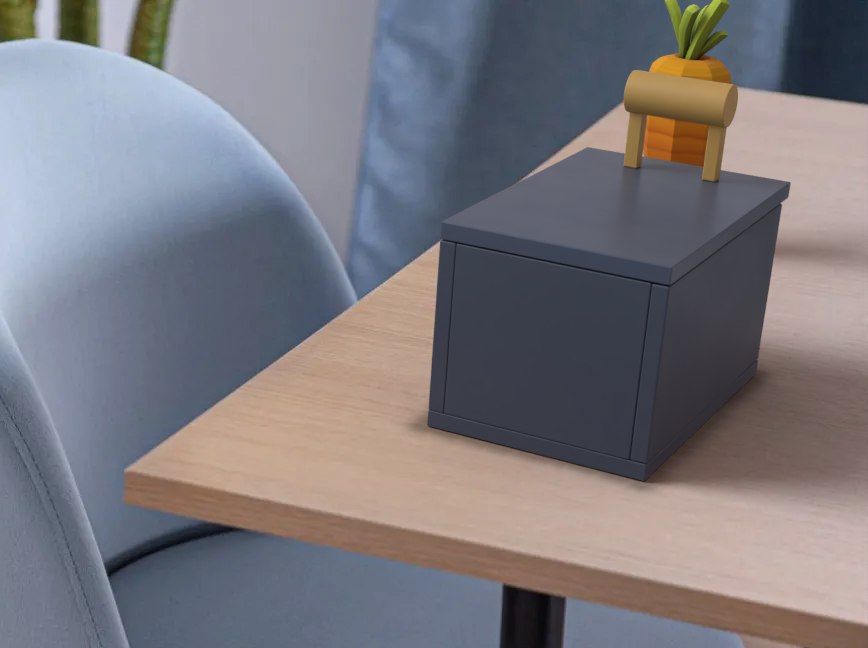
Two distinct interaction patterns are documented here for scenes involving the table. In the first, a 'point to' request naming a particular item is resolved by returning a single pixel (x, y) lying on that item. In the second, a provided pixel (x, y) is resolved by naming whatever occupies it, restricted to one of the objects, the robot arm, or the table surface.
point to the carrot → (675, 135)
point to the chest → (595, 351)
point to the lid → (630, 195)
